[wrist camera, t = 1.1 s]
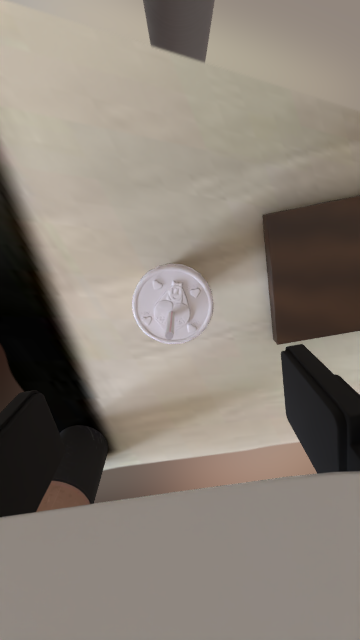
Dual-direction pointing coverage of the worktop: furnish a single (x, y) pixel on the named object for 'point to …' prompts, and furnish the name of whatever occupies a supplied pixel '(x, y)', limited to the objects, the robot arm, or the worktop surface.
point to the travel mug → (77, 469)
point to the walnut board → (314, 270)
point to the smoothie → (172, 303)
